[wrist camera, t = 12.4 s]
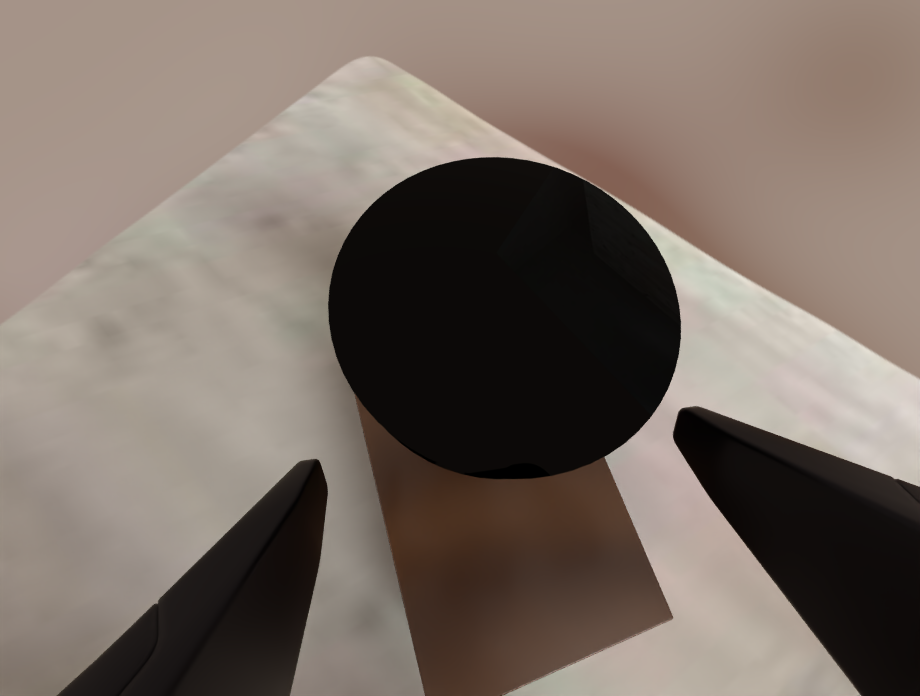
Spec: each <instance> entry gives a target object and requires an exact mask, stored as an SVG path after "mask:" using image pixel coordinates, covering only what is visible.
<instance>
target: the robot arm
mask: <svg viewBox="0 0 920 696" xmlns="http://www.w3.org/2000/svg"><path fill="white" fill-rule="evenodd" d="M673 438H674V441H675V444H676V445H677V447H678V448H679V450H680V452H681V453H682V455H683V456H684V458H685V460H686V461H687V463H688V464H689V466H690V467H691V469H692V471H693V472H694V474H695V475H696V477H697V479H698V480H699V482H700V483H701V485H702V487H703V488H704V490H705V491H706V493H707V494H708V496H709V497H710V498H711V500H712V501H713V502H714V504H715V505H716V507H717V508H718V509H719V510H720V512H721V513H722V514H723V516H724V517H725V518H726V520H727V521H728V522H729V524H730V525H731V526H732V527H733V529H734V530H735V531H736V533H737V534H738V535H739V537H740V538H741V539H742V540H743V542H744V543H745V544H746V546H747V547H748V548H749V550H750V551H751V552H752V554H753V555H754V556H755V557H756V559H757V560H758V561H759V563H760V564H761V565H762V567H763V568H764V569H765V571H766V572H767V573H768V574H769V576H770V577H771V578H772V580H773V581H774V582H775V584H776V585H777V586H778V588H779V589H780V590H781V591H782V593H783V594H784V595H785V597H786V598H787V599H788V601H789V602H790V603H791V604H792V606H793V607H794V608H795V610H796V611H797V612H798V614H799V615H800V616H801V618H802V619H803V620H804V621H805V623H806V624H807V625H808V627H809V628H810V629H811V631H812V632H813V633H814V635H815V636H816V637H817V638H818V640H819V641H820V642H821V644H822V645H823V646H824V648H825V649H826V650H827V652H828V653H829V654H830V655H831V657H832V658H833V659H834V661H835V662H836V663H837V665H838V666H839V667H840V669H841V670H842V671H843V672H844V674H845V675H846V676H847V678H848V679H849V680H850V682H851V683H852V684H853V685H854V687H855V688H856V689H857V691H858V692H859V693H860V695H861V696H920V487H918V486H916V485H913V484H910V483H907V482H905V481H902V480H899V479H894V478H892V477H891V476H888V475H885V474H882V473H880V472H877V471H874V470H872V469H869V468H866V467H863V466H861V465H858V464H855V463H852V462H850V461H847V460H844V459H841V458H839V457H836V456H833V455H830V454H828V453H825V452H822V451H819V450H817V449H814V448H811V447H808V446H806V445H803V444H800V443H797V442H795V441H792V440H789V439H787V438H784V437H781V436H778V435H776V434H773V433H770V432H767V431H765V430H762V429H759V428H756V427H754V426H751V425H748V424H745V423H743V422H740V421H737V420H734V419H732V418H729V417H726V416H723V415H721V414H718V413H715V412H713V411H710V410H707V409H704V408H702V407H698V406H693V407H686V408H682V409H681V410H680V411H679V412H678V416H677V419H676V423H675V427H674V431H673ZM327 496H328V488H327V483H326V479H325V476H324V473H323V470H322V466H321V463H320V461H319V460H317V459H311V460H303V461H300V462H298V463H297V464H296V465H295V466H294V467H293V468H292V469H291V470H290V471H289V472H288V473H287V474H286V475H285V476H284V477H283V478H282V479H281V480H280V481H279V482H278V483H277V484H276V485H275V486H274V487H273V488H272V489H271V490H270V491H269V492H268V493H267V494H266V495H265V496H264V497H263V498H262V499H260V500H259V501H258V502H257V503H256V504H255V505H254V506H253V507H252V508H251V509H250V510H249V511H248V512H247V513H246V514H245V515H244V516H243V517H242V518H241V519H240V520H239V521H238V522H237V523H236V524H235V525H234V526H233V527H232V528H231V529H230V530H229V531H228V532H227V533H226V534H225V535H224V536H223V537H222V538H221V539H220V540H219V541H218V542H217V543H216V544H215V545H214V546H213V547H212V548H211V549H210V550H209V551H208V552H207V553H206V554H205V555H204V556H203V557H202V558H201V559H199V560H198V561H197V562H196V563H195V564H194V565H193V566H192V567H191V568H190V569H189V570H188V571H187V572H186V573H185V574H184V575H183V576H182V577H181V578H180V579H179V580H178V581H177V582H176V583H175V584H174V585H173V586H172V587H171V588H170V589H169V590H168V591H167V592H166V593H165V594H164V595H163V596H162V597H161V598H160V599H159V600H158V604H154V605H153V606H152V607H150V608H149V609H148V610H147V611H146V612H145V613H144V614H143V615H142V616H141V617H140V618H139V619H138V620H137V621H136V622H135V623H134V624H133V625H132V626H131V627H130V628H129V629H128V630H127V631H126V632H125V633H124V634H123V635H122V636H121V637H120V638H119V639H118V640H116V641H115V642H114V643H113V644H112V645H111V646H110V647H109V648H108V649H107V650H106V651H105V652H104V653H103V654H102V655H101V656H100V657H99V658H98V659H97V660H96V661H94V662H93V663H92V664H91V665H90V666H89V667H88V668H87V669H86V670H84V671H83V672H82V673H81V674H80V675H79V676H78V677H77V678H76V679H75V680H73V681H72V682H71V683H70V684H69V685H68V686H67V687H66V688H65V689H64V690H62V691H61V692H60V693H59V694H58V695H57V696H290V693H291V688H292V684H293V679H294V675H295V670H296V666H297V661H298V657H299V653H300V648H301V644H302V639H303V635H304V630H305V626H306V622H307V617H308V613H309V608H310V604H311V599H312V595H313V590H314V586H315V582H316V577H317V573H318V568H319V563H320V556H321V549H322V540H323V531H324V522H325V513H326V505H327Z"/></svg>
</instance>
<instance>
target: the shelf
mask: <svg viewBox="0 0 920 696" xmlns="http://www.w3.org/2000/svg"><path fill="white" fill-rule="evenodd" d="M354 394H355V393H354ZM355 398H356V402H357V407H358V411H359V415H360V419H361V424H362V428H363V432H364V437H365V441H366V445H367V449H368V454H369V458H370V462H371V466H372V471H373V475H374V479H375V484H376V488H377V492H378V496H379V501H380V505H381V509H382V513H383V518H384V522H385V526H386V530H387V535H388V539H389V543H390V548H391V552H392V556H393V560H394V565H395V569H396V573H397V577H398V582H399V586H400V590H401V595H402V599H403V603H404V607H405V612H406V616H407V620H408V624H409V629H410V633H411V637H412V642H413V646H414V650H415V654H416V659H417V663H418V667H419V671H420V676H421V680H422V684H423V689H424V693H425V696H502V695H505V694H507V693H509V692H511V691H513V690H516V689H518V688H520V687H522V686H525V685H527V684H529V683H531V682H533V681H536V680H538V679H540V678H542V677H545V676H547V675H549V674H551V673H554V672H556V671H558V670H560V669H562V668H565V667H567V666H569V665H571V664H574V663H576V662H578V661H580V660H583V659H585V658H587V657H589V656H591V655H594V654H596V653H598V652H600V651H603V650H605V649H607V648H609V647H612V646H614V645H616V644H618V643H620V642H623V641H625V640H627V639H629V638H632V637H634V636H636V635H638V634H641V633H643V632H645V631H647V630H649V629H652V628H654V627H656V626H658V625H661V624H663V623H665V622H667V621H669V620H672V619H673V616H672V613H671V611H670V609H669V606H668V604H667V602H666V599H665V597H664V595H663V592H662V590H661V588H660V586H659V583H658V581H657V579H656V576H655V574H654V572H653V569H652V567H651V565H650V562H649V560H648V558H647V555H646V553H645V551H644V548H643V546H642V544H641V541H640V539H639V537H638V534H637V532H636V530H635V527H634V525H633V523H632V520H631V518H630V516H629V513H628V511H627V509H626V506H625V504H624V502H623V499H622V497H621V495H620V493H619V490H618V488H617V486H616V483H615V481H614V479H613V476H612V474H611V472H610V469H609V467H608V465H607V462H606V460H605V458H604V457H603V458H601V459H599V460H597V461H595V462H593V463H591V464H589V465H586V466H583V467H581V468H578V469H576V470H573V471H569V472H566V473H562V474H558V475H554V476H548V477H540V478H533V479H487V478H478V477H473V476H468V475H463V474H459V473H456V472H453V471H449V470H446V469H443V468H441V467H439V466H436V465H434V464H432V463H430V462H428V461H427V460H425V459H423V458H421V457H420V456H418V455H416V454H414V453H413V452H412V451H410V450H409V449H408V448H406V447H405V446H403V445H402V444H401V443H399V442H398V441H397V440H396V439H395V438H394V437H393V436H392V435H391V434H390V433H388V432H387V430H386V429H385V428H384V427H383V426H382V425H380V424H379V423H378V422H377V421H376V420H375V419H374V417H373V416H372V415H371V414H370V413H369V412H368V411H367V409H366V408H365V407H364V406H363V405H362V403H361V402H360V400H359V399H358V397H357V396H356V395H355Z"/></svg>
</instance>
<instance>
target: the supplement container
mask: <svg viewBox="0 0 920 696" xmlns="http://www.w3.org/2000/svg"><path fill="white" fill-rule="evenodd" d="M328 311H329V325H330V332H331V338H332V342H333V346H334V349H335V353H336V357H337V359H338V362H339V364H340V366H341V369H342V371H343V374H344V376H345V377H346V379H347V381H348V383H349V385H350V387H351V388H352V390H353V392H354V393H355V395H356V396H357V397H358V399H359V400H360V402H361V403H362V405H363V406H364V407H365V408H366V409H367V411H368V412H369V413H370V414H371V415H372V416H373V417H374V419H375V420H376V421H377V422H378V423H379V424H380V425H382V426H383V427H384V428H385V429H386V430H387V432H388V433H390V434H391V435H392V436H393V437H394V438H395V439H396V440H397V441H398V442H399V443H401V444H402V445H403V446H405V447H406V448H408V449H409V450H410V451H412V452H413V453H414V454H416V455H418V456H420V457H421V458H423V459H425V460H427V461H428V462H430V463H432V464H434V465H436V466H439V467H441V468H443V469H446V470H449V471H453V472H456V473H459V474H463V475H468V476H473V477H478V478H487V479H533V478H540V477H548V476H554V475H558V474H562V473H566V472H569V471H573V470H576V469H578V468H581V467H583V466H586V465H589V464H591V463H593V462H595V461H597V460H599V459H601V458H603V457H605V456H607V455H608V454H610V453H611V452H613V451H614V450H616V449H617V448H619V447H620V446H622V445H623V444H624V443H626V442H627V441H628V440H629V439H630V438H631V437H632V436H633V435H635V434H636V433H637V432H638V431H639V430H640V429H641V428H642V426H643V425H644V424H645V423H646V422H647V421H648V420H649V419H650V417H651V416H652V415H653V413H654V412H655V410H656V409H657V407H658V406H659V404H660V403H661V401H662V399H663V397H664V395H665V393H666V391H667V390H668V388H669V385H670V382H671V380H672V377H673V374H674V372H675V368H676V364H677V360H678V356H679V348H680V340H681V319H680V309H679V303H678V298H677V293H676V289H675V286H674V283H673V280H672V277H671V274H670V272H669V269H668V267H667V265H666V263H665V260H664V258H663V257H662V255H661V253H660V251H659V249H658V248H657V246H656V244H655V243H654V242H653V240H652V239H651V237H650V236H649V234H648V233H647V232H646V230H645V229H644V228H643V227H642V226H641V224H640V223H639V222H638V221H637V220H636V219H635V218H634V217H633V216H632V215H631V214H630V213H629V212H628V211H627V210H626V209H625V208H624V207H623V206H622V205H621V204H619V203H618V202H617V201H616V200H615V199H613V198H612V197H611V196H609V195H608V194H606V193H605V192H604V191H602V190H601V189H599V188H597V187H596V186H594V185H592V184H591V183H589V182H587V181H585V180H583V179H581V178H579V177H577V176H575V175H573V174H571V173H568V172H566V171H563V170H561V169H558V168H555V167H552V166H549V165H545V164H541V163H537V162H533V161H528V160H521V159H514V158H500V157H486V158H472V159H464V160H459V161H453V162H449V163H445V164H442V165H438V166H435V167H432V168H430V169H427V170H424V171H422V172H420V173H417V174H415V175H413V176H411V177H409V178H407V179H405V180H404V181H402V182H400V183H399V184H397V185H395V186H394V187H393V188H391V189H390V190H388V191H387V192H386V193H384V194H383V195H382V196H381V197H380V198H378V199H377V200H376V201H375V202H374V203H373V204H372V205H371V206H370V207H369V208H368V209H367V210H366V211H365V212H364V213H363V215H362V216H361V217H360V218H359V220H358V221H357V222H356V224H355V225H354V226H353V228H352V229H351V231H350V233H349V234H348V236H347V238H346V239H345V241H344V243H343V245H342V248H341V250H340V252H339V254H338V257H337V260H336V263H335V266H334V269H333V273H332V278H331V283H330V289H329V301H328Z"/></svg>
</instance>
